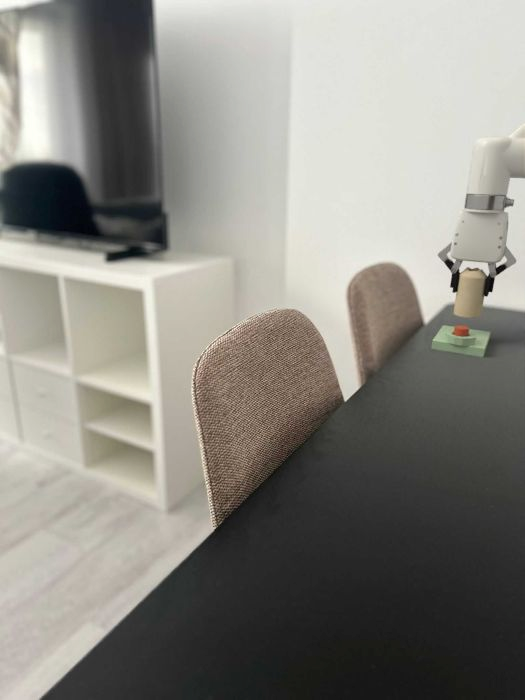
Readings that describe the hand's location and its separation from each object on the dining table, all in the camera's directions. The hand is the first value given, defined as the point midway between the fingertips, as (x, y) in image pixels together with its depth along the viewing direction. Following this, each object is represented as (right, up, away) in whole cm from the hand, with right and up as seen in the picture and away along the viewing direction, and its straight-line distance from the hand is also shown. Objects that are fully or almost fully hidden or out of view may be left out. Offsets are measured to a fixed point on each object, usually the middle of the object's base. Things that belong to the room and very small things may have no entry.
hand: (470, 292), depth 108 cm
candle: (0, -5, +2) cm, 5 cm away
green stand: (-2, -11, +1) cm, 11 cm away
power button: (-3, -9, -4) cm, 11 cm away
